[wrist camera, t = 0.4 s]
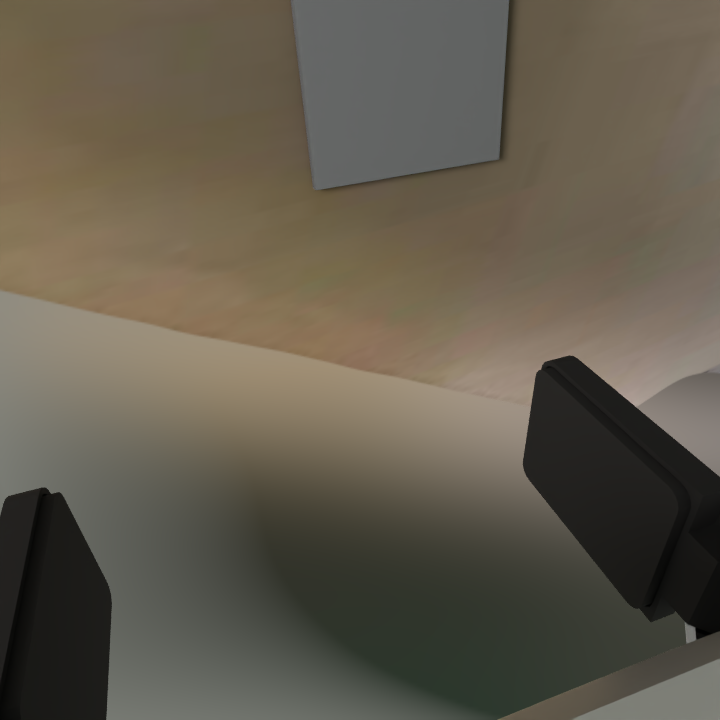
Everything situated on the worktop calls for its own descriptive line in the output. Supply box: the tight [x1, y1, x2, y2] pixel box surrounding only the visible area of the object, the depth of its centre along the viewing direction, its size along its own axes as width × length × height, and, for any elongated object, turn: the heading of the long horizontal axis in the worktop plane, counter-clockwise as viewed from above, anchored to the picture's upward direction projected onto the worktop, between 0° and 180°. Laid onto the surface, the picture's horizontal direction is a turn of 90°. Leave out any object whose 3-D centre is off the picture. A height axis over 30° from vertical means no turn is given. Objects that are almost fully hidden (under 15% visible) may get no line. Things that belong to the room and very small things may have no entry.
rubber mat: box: [291, 0, 509, 190], centre depth 36 cm, size 14×14×1 cm
